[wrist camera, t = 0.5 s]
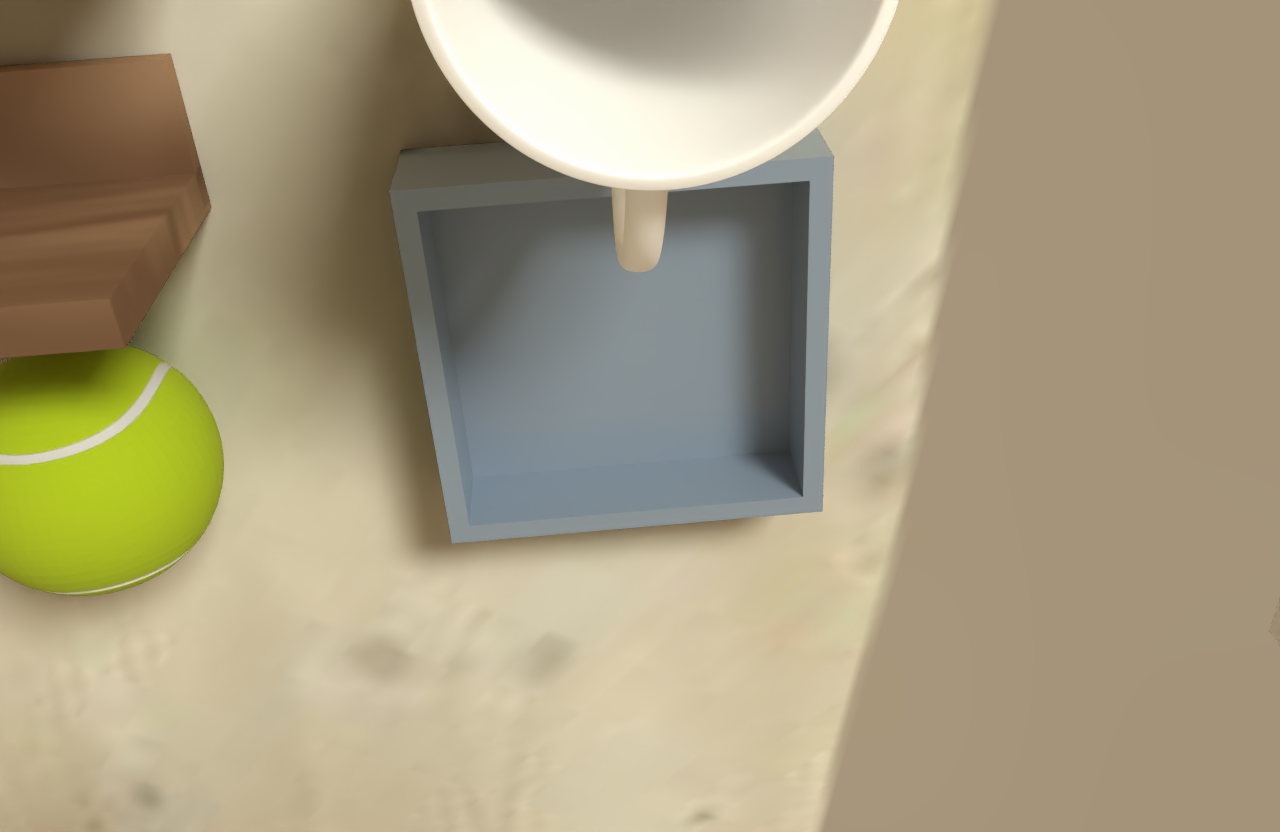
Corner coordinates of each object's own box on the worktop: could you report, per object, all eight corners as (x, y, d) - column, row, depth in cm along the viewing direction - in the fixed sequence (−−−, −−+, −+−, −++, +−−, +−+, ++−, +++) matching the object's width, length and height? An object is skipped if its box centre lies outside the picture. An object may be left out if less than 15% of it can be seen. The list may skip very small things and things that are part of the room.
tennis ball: (269, 484, 38) (219, 636, 32) (47, 504, 38) (-45, 661, 32) (214, 286, 34) (145, 416, 28) (-34, 307, 34) (-154, 442, 28)
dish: (400, 149, 32) (388, 191, 30) (811, 117, 33) (834, 156, 30) (458, 485, 38) (451, 543, 36) (804, 455, 39) (822, 511, 36)
